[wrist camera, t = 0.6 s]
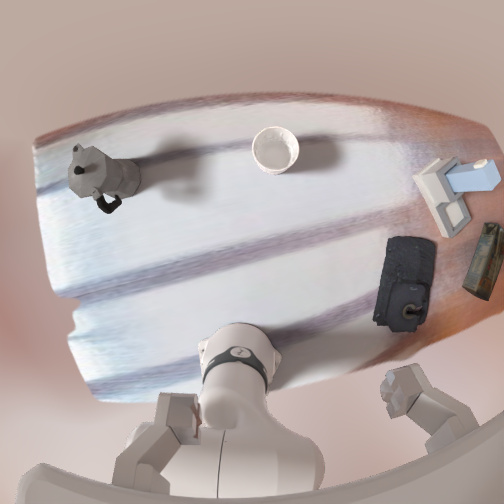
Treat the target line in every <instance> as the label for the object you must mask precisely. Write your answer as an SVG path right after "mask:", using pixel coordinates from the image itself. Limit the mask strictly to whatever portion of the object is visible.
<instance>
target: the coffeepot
mask: <svg viewBox="0 0 504 504" xmlns="http://www.w3.org/2000/svg"><path fill="white" fill-rule="evenodd" d="M68 177H69V188H70V189H71V190H72V191H73V192H74V193H75V194H77V195H78V196H79V197H80V198H84V197H89V196H93V198H94V200H96V201H97V205H98V207H99V208H100V209H101V210H102V211H103V212H105V213H107V214H111V213H112V212H113V211H114V210H115V209H116V208H117V207H119V206H120V205H121V204H122V201H121V199H123V198H127V197H131V196H133V194H134V193H135V191H136V190H137V188H138V186H139V184H140V183H141V181H140V171H139V166H137V165H136V164H135V163H133V162H132V161H130V160H129V159H112V158H110V157H109V156H107V155H106V154H104V153H103V152H101V151H100V150H98V149H97V148H95V147H94V146H91V147H88V148H86V149H84V148H83V147H82V146H81V145H80V144H77V145H76V146H75V147H74V148H73V161H72V163H71V164H70V166H69V168H68ZM103 193H105V194H107V195H109V196H111V197H113V198H115V200H114V201H113V202H112V203H109V204H108V203H107V202H106V201H105V199H104V196H103Z"/></svg>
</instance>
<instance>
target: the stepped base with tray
mask: <svg viewBox="0 0 504 504" xmlns="http://www.w3.org/2000/svg"><path fill="white" fill-rule="evenodd" d="M459 165H462V164H461V162H460V161H459V159H458V157H453V158H448V159H444V160H440V158H436V159H433V160H432V161H431V162H429V163H428V164H427V165H426V166H424V167H423V168H422V169H420V170H419V171H418V172H417V173H415V174H414V175H413V176H412V177H413V179H414V181H415V182H416V184H417V186H418V188H419V190H420V191H421V193H422V195H423V197H424V199H425V201H426V203H427V205H428V207H429V209H430V211H431V213H432V215H433V217H434V219H435V221H436V223H437V225H438V228H439V230H440V232H441V234H442V236H443V237H448V238H449V237H451V238H453V237H454V236H455V235H456V234H457V233H458V232H459V231H460V230H461V229H462V228H463V227H464V226H465V225H466V224H467V223H468V222H469V221H470V220H471V217H470V214H469V212H468V210H467V207H466V205H465V203H464V200H463V198H462V196H461V195H462V194H463V193H465V192H453V191H452V189H451V186H450V184H449V182H448V180H447V178H446V176H445V175H444V174H445V173H446V172H447V171H448V170H450V169H451V168H452V167H454V166H459Z"/></svg>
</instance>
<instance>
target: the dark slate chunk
mask: <svg viewBox="0 0 504 504" xmlns="http://www.w3.org/2000/svg"><path fill="white" fill-rule="evenodd" d="M434 257H435V245H434V244H433V243H432V242H430V241H428V240H424V239H421V238H413V237H400V236H397V237H393V238H392V239H390V238H389V239H388V242H387V247H386V257H385V261H384V267H383V270H382V275H381V280H380V286H379V291H378V297H377V302H376V306H375V311H374V316H373V321H374V322H377V326H389V328H390V329H391V331H392V332H405V331H406V332H415V331H416V329H417V326H418V325H421V324H422V323H423V322H424V321H425V318H426V316H427V310H428V302H429V293H430V292H429V291H430V287H431V283H432V278H433V264H434ZM421 306H422V308H421V309H420V310H419V311H412V310H415V309H416V308H417V307H421ZM408 308H411V311H407V309H408Z"/></svg>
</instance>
